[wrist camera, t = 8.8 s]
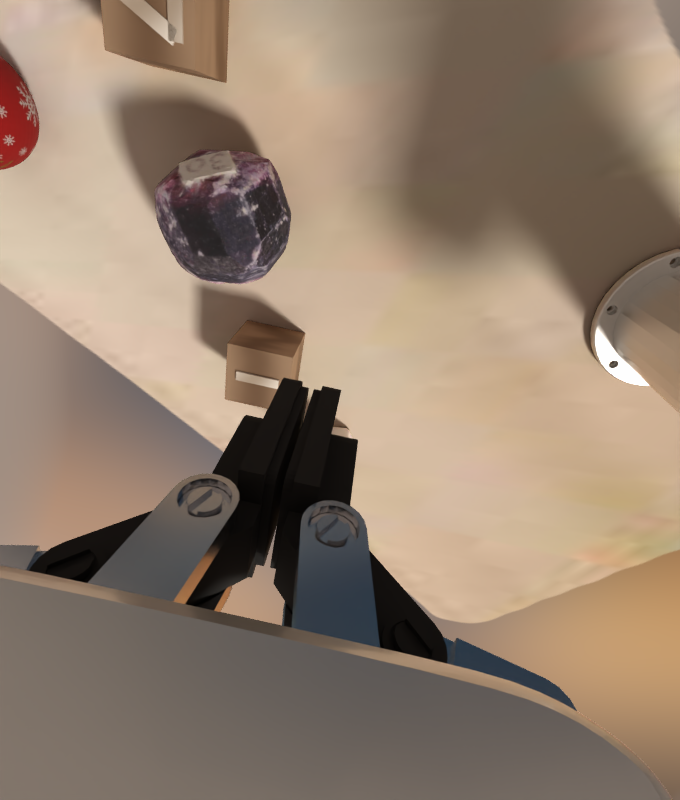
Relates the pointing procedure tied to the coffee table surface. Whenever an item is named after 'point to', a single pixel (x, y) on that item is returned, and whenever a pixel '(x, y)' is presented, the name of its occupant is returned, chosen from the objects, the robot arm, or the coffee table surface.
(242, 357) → the walnut block
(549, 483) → the coffee table surface
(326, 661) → the robot arm
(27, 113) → the christmas ornament
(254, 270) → the mineral specimen
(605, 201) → the coffee table surface
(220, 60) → the brown cube
